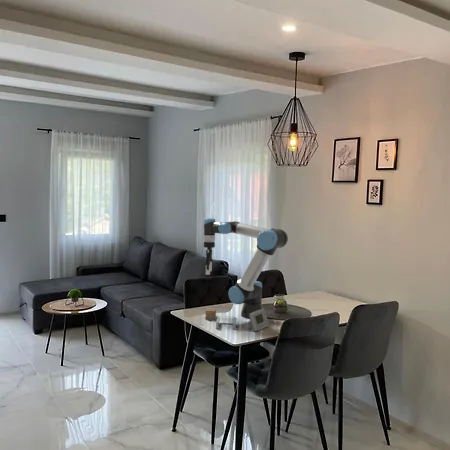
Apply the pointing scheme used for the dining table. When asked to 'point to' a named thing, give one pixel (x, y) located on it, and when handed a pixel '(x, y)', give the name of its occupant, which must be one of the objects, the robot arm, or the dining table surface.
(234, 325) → the channel
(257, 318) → the digital clock
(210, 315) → the block
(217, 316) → the coaster
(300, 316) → the dining table surface
